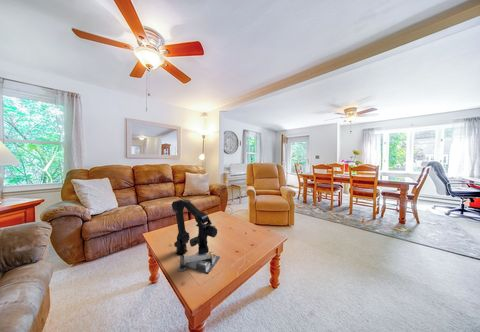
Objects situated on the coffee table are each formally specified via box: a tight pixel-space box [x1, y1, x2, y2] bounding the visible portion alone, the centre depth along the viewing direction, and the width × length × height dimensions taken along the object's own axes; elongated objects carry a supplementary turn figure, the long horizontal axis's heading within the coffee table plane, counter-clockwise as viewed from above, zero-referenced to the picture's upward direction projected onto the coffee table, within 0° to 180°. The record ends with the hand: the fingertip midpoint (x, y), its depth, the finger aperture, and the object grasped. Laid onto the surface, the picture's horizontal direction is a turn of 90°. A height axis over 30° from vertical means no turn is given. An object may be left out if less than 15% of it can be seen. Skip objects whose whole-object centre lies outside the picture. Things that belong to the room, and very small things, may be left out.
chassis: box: [184, 251, 221, 275], centre depth 106 cm, size 18×16×3 cm
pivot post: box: [177, 254, 187, 273], centre depth 99 cm, size 5×5×8 cm
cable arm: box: [184, 251, 214, 264], centre depth 102 cm, size 18×2×3 cm, turn 106°
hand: (202, 255), depth 106 cm, fingers closed
